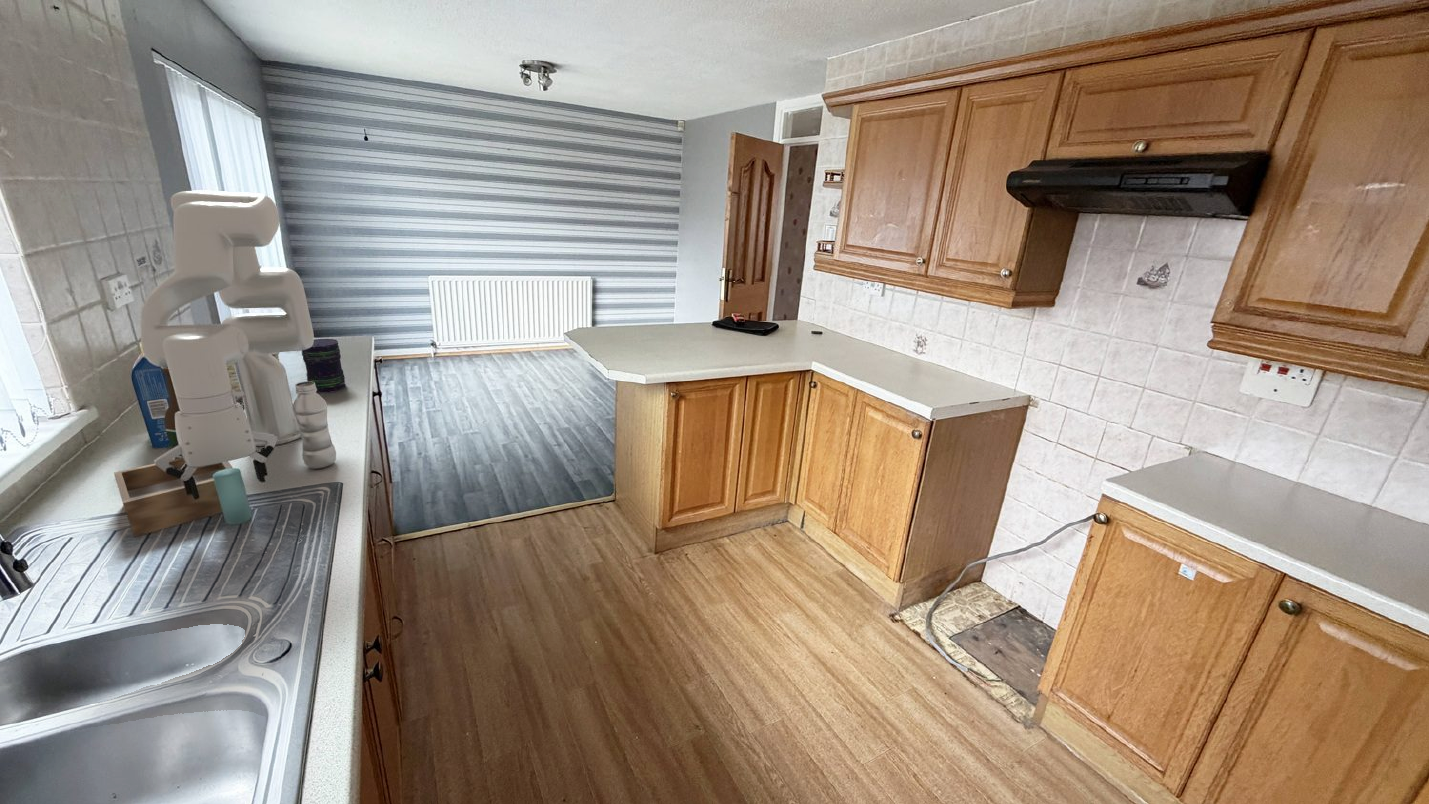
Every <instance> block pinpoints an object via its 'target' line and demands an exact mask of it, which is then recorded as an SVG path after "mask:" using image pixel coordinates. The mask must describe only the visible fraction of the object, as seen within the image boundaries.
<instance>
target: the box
mask: <svg viewBox="0 0 1429 804" xmlns="http://www.w3.org/2000/svg"><path fill="white" fill-rule="evenodd" d="M169 464H170V465H172V466H174V467H177V468H180V469H181V468H182V466H183V465H184V464H185V461H184V460H183V458H178V459H173V460H171V461H170V462H169ZM229 468H234V467H233V466H232V465H231V463H230V461H227V462H222V463H218V464H213V465H209V466H204V467H198V468H197V469H196V470H195V472H194V473H193V474H192V476H193V478H194V479H195V483H196V486H197V490H198V493H199V497H200V498H198V499H196V500H195V499H194V497H193V496H192V494H190V495H187V493H186V490H185V487H184V483H183V480H181V479H180V478H177V477H174V476H171V475H169V474H167V473H166V472H165V471H163V470H162V469H161V468H159V467H158V466H157V465H156V464H155V463H151V464H146V465H143V466H138V467H132V468H129V469H124V470H120V471H119V470H118V471H115V472H113V475H114V478H115V481H116V484H117V485H116V486H117V488H118V493H119V495H120V498H121V501H122V504H123V507H124V511H125V513H126V516H127V519H128V523H129V525H130V528H131V531H132V534H133V537H134V538H136V537H141V536H144V535H147V534H150V533H155V532H158V531H161V530H164V529H168V528H172V527H176V526H179V525H182V524H186V523H189V522H193V521H198V520H200V519H204V518H207V517H211V516H215V515H218V514H221V513H222V514H223V512H222V508H221V504H220V501H219V497H218V494H217V490H216V486H215V483H214V479H213V474H214V473H216V472H218V471H220V470H224V469H229Z"/></svg>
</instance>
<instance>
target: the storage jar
mask: <svg viewBox="0 0 1429 804" xmlns="http://www.w3.org/2000/svg"><path fill="white" fill-rule="evenodd" d="M301 356H302V360H303V363H304V365H305V369H306V375H305V376H306V381H312V382H315V386H316V388H317V391H316V393H317V394H327V393H328V394H329V393H336V392H339V391H342V390H344V389H345V388H346V387H347V384H346V380H345V379H346V377H345V374H344V370H343V367H342V362H341V359H342V357H341V350H340V346H339V340H337V339H334V338H316V339H315V338H314V342H313V345H312V346H311V347H310V348H309V349H307V350H302V351H301Z"/></svg>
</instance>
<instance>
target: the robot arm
mask: <svg viewBox="0 0 1429 804" xmlns="http://www.w3.org/2000/svg"><path fill="white" fill-rule="evenodd" d="M170 204H171V209H172V211H173V216H172V217H173V221H172V222H173V265H174V268H173V269H174V270H173V273H172V274H171V275H169V276H168V277H166V278H165V279H164V280H162V281H161V282H160V283H159V284H158V285H157V286H156V287H155V288H154V289H153V290H152V291H151V293H150V294H149V295H148V296H147V298H146V299H145V301H144V302H143V304H142V307H141V313H140V344H142V350H143V353H144V355H145V357H146V358H147V360H148V361H149V362H150V363H152V364H154V365H156V366H159V367H168V369H169V372H170V376H171V379H172V383H173V387H174V390H175V394H176V398H177V401H178V405H179V408H180V411H178V412H176V413H175V428H176V434H177V439H178V444H179V445H178V446H176V447H174V448H173V449H169V450H168V451H166V452H165V453H163V454H161V455H160V456H158V457H157V458H155V459H154V461H153V462H154V464H156V465H157V466H158V467H159V468H161V469H162V470H163V471H165V472H166V473H167V474H169V475H171V476H174V477H177V478H180V479H181V480H183V483H184V487H185V490H186V493H187V495H190V494H192V496H193V497H194V499H195V500H196V499H198V498H200V497H199V493H198V490H197V486H196V483H195V479H194V478H193V476H192V474H193V473H194V472H195V470H196V469H197V468H198V467H204V466H209V465H213V464H218V463H222V462H227V461H228V462H230V461H234V460H239V459H242V458H243V459H244V458H247V457H250V458H252V459H253V460H252V463H253V467H254V471H255V476H256V479H257V480H258V481H259V482H260V483H265V482H266V479H265V477H266V476H268V470H267V466H266V463H265V462H266V461H267V459H268V458H269V456H270V455H271V454H272V453H273V452H274V448H275V446H277V445H283V444H286V443H289V442H290V443H291V442H292V441H293V442H294V441H295V440H297V439H300V438H302V437H301V433H300V429H299V425H298V422H297V420H296V417H295V415H294V412H293V409H292V408H293V403H294V402H293V398H292V394H291V390H290V385H289V380H288V375H287V371H286V368H285V366H284V365H283V363H282V362H281V361H280V360H279V361H278V360H277V359H276V358H275V357H274V356H272V355H271V354H270V353H274V352H280V353H285V352H286V353H287V352H290V353H291V352H302V350H307V349H309V348H310V347H311V346H312V345H313V342H314V340H315V336H314V329H313V323H312V319H311V316H310V311H309V310H310V309H309V305H308V300H307V297H306V292H305V288H304V284H303V281H302V279H301V277H300V275H299V274H298V273H297V272H296V271H295V270H293V269H291V268H287V267H262V266H261V265H260V263H259V259H258V255H257V251H256V248H260V247H266V246H268V245H269V244H270V243H271V242H272V241H273V238H274V237H275V236H276V234H277V232H278V229H279V227H280V213H279V210H278V207H277V205H276V203H275V202H274V201H273V199H272V198H271V197H269V196H268V195H266V194H262V193H253V192H234V191H233V192H229V191H217V190H215V191H214V190H213V191H212V190H185V191H184V190H183V191H179V192H176V193H174V194H173V195H172V196H171V198H170ZM215 293H218V294H219V297H220V300H221V302H223V303H222V304H224V305H225V306H226V307H228V308H229V309H230V308H231V309H235V310H265V309H266V310H270V309H273V310H274V309H280V310H282V311H283V312H262V313H261V312H258V313H257V312H255V313H251V312H250V313H241V314H240V313H238V314H234V315H231V316H228V317H226V318H224V320H223V321H222V322H221V323H209V324H205V323H204V324H203V323H202V324H200V323H199V324H175V325H173V324H172V325H169V322H170V320H171V318H172V316H173V315H174V314H175V313H176V312H177V311H178V310H180V309H181V308H182V307H184V306H185V305H187V304H190V303H192V302H195V301H197V300H199V299H201V298H205V297H206V296H209V295H212V294H215ZM230 364H234V367H235V371H236V375H237V379H238V383H239V387H240V391H237V390H236V391H235V390H234V389H233V390H232V386H231V382H230V378H229V374H228V370H227V365H230ZM241 398H242V403H243V407H244V408H243V407H242V405H241V403H240V402H238V400H240V399H241ZM244 410H245V411H244ZM257 447H262V448H261V449H260V450H257ZM179 455H181V456H182V458H183V460H184V461H185V464H184V465H183V466H182V468H181V469H180V468H177V467H174V466H172V465H170V464H169V462H170V461H171V460H174V458H176V457H177V456H179Z"/></svg>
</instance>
